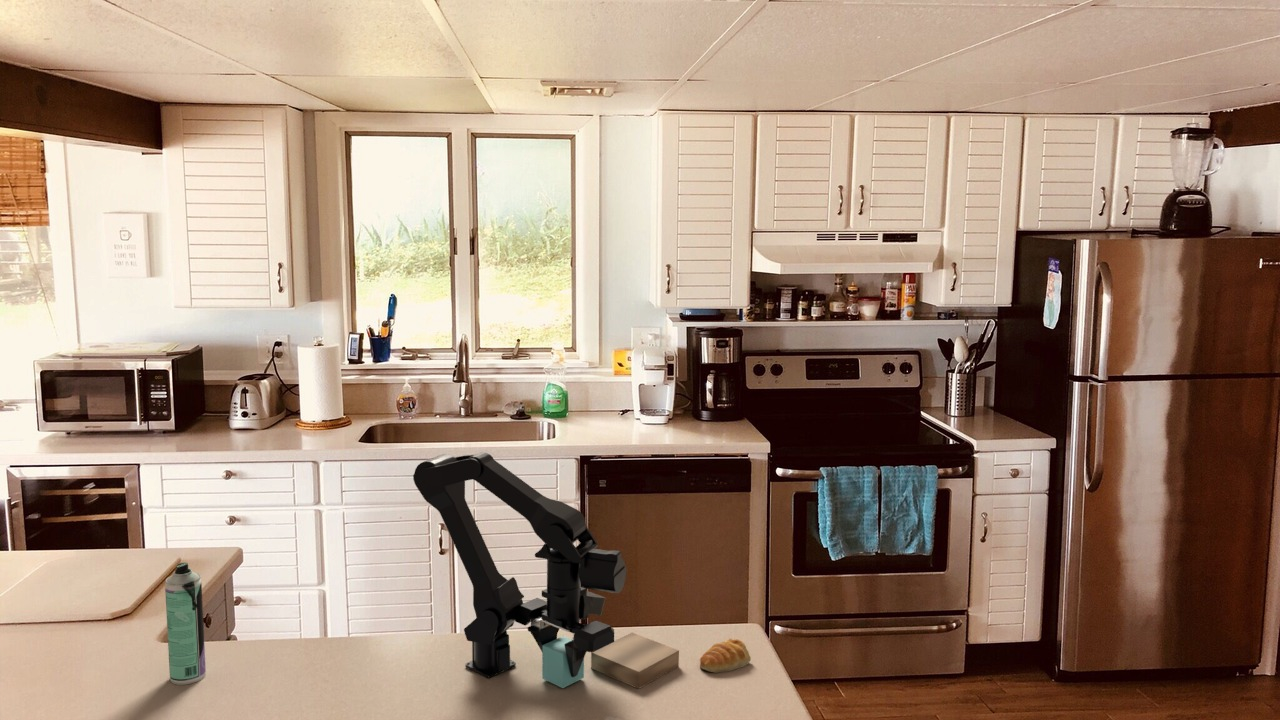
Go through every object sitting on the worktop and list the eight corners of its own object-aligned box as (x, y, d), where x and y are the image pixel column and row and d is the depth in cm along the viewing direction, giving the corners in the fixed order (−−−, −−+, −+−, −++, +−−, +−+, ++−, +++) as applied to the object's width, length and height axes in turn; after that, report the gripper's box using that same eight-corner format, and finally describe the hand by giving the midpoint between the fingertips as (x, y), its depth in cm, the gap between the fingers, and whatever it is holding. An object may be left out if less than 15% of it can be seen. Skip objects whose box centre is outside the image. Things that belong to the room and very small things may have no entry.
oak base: (591, 668, 163) (591, 652, 162) (631, 647, 171) (632, 632, 171) (638, 688, 156) (638, 671, 155) (678, 666, 164) (679, 650, 163)
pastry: (717, 680, 160) (717, 659, 159) (689, 666, 165) (690, 646, 164) (753, 664, 166) (754, 644, 165) (726, 651, 171) (726, 632, 170)
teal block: (542, 678, 158) (542, 645, 157) (563, 668, 161) (563, 636, 161) (563, 688, 154) (563, 654, 154) (583, 677, 158) (584, 644, 157)
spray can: (213, 672, 159) (207, 561, 156) (188, 687, 153) (182, 571, 151) (188, 667, 160) (182, 556, 158) (162, 681, 155) (156, 567, 153)
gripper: (636, 585, 156) (635, 672, 158) (558, 558, 168) (558, 640, 170) (591, 604, 147) (590, 696, 149) (512, 575, 159) (512, 660, 161)
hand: (563, 671), depth 158 cm, fingers closed on teal block, 5 cm apart
